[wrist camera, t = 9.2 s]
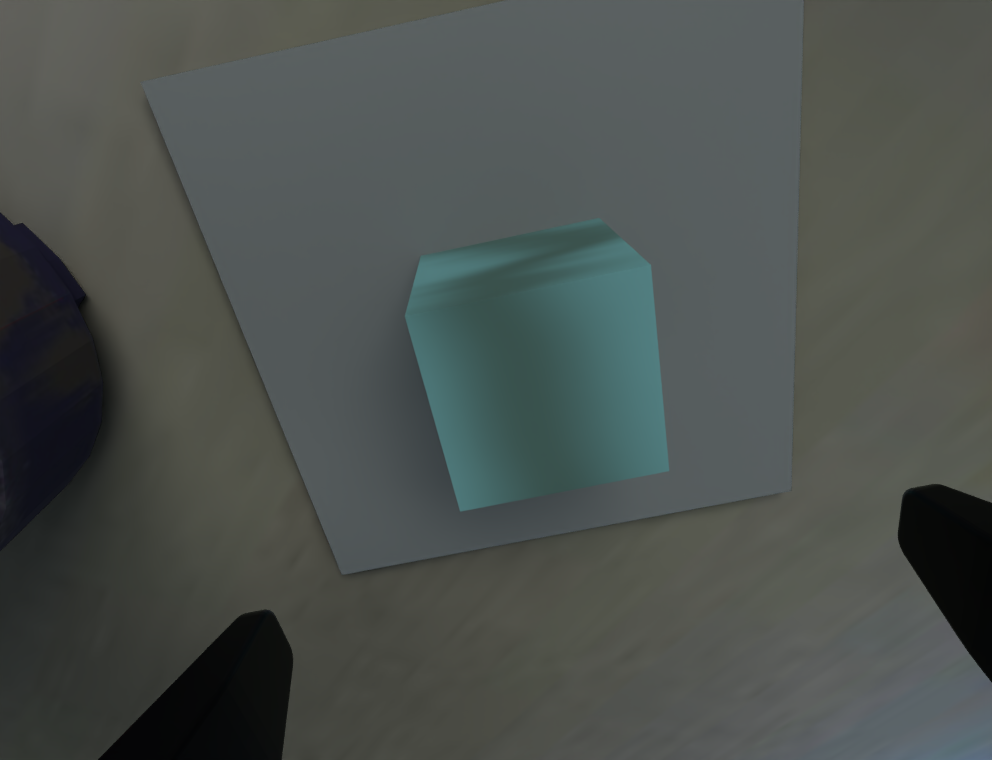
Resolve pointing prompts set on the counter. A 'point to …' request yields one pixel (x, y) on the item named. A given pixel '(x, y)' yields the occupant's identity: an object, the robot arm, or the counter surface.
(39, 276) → the thermos flask
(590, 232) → the teal block
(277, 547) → the counter surface
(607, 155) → the slate pad
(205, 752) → the robot arm
